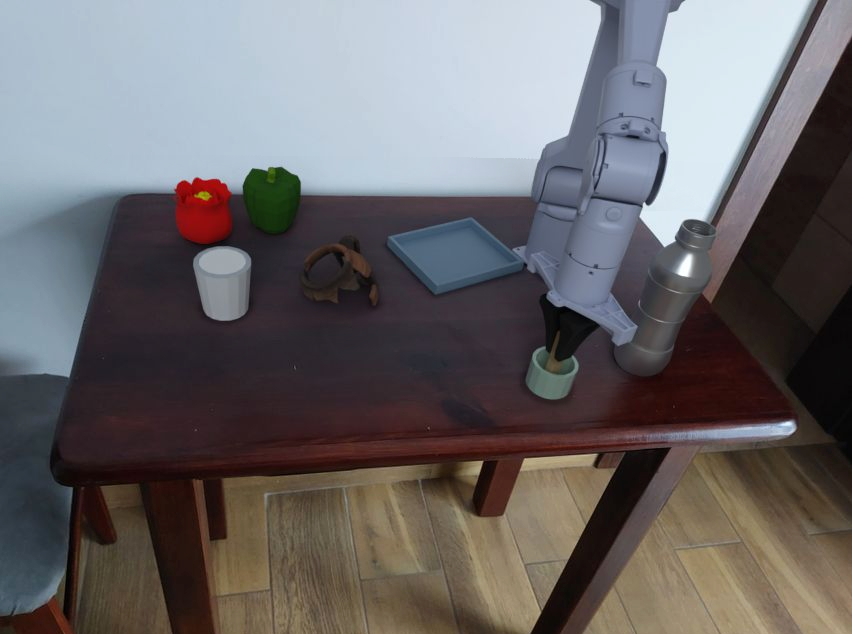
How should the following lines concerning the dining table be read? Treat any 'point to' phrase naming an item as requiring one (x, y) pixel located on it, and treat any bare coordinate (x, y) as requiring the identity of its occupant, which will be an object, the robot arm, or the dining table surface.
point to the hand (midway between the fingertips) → (558, 353)
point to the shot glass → (223, 281)
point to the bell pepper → (272, 198)
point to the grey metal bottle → (668, 298)
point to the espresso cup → (550, 376)
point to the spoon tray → (454, 255)
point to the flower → (203, 210)
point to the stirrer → (552, 363)
